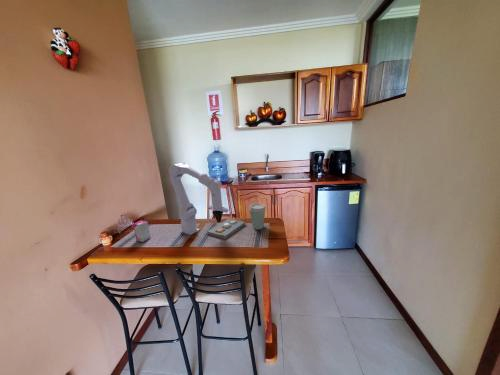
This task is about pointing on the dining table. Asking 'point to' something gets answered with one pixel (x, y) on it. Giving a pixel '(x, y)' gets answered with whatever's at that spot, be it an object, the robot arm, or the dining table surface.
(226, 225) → the ivory button
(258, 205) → the disposable coffee cup
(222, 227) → the button panel
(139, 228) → the supplement box
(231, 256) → the dining table surface
